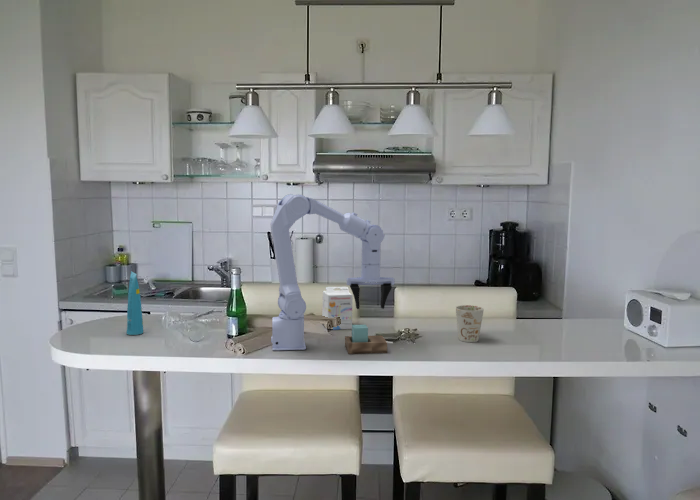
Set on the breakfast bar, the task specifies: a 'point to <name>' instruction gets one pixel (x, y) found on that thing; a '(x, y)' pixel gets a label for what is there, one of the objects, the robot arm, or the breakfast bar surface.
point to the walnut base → (366, 345)
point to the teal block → (359, 333)
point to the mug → (469, 322)
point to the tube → (134, 308)
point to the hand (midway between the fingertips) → (370, 308)
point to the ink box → (338, 306)
